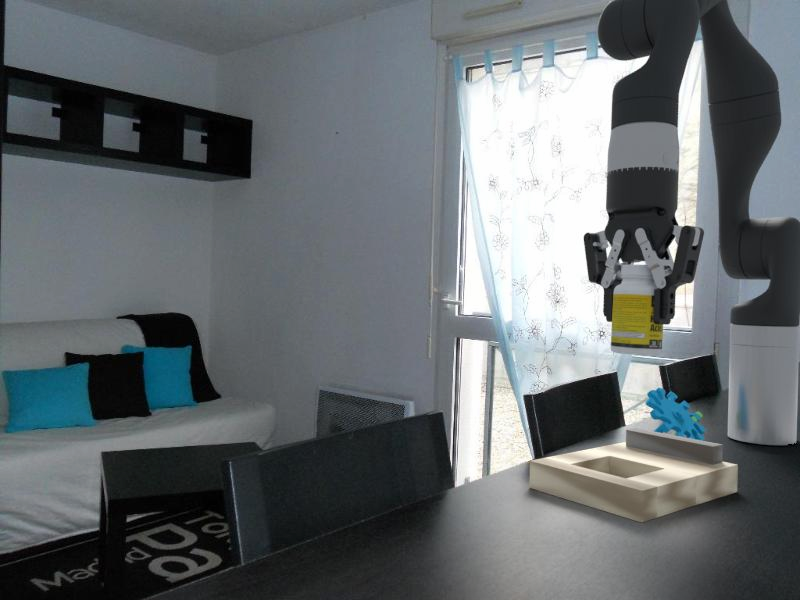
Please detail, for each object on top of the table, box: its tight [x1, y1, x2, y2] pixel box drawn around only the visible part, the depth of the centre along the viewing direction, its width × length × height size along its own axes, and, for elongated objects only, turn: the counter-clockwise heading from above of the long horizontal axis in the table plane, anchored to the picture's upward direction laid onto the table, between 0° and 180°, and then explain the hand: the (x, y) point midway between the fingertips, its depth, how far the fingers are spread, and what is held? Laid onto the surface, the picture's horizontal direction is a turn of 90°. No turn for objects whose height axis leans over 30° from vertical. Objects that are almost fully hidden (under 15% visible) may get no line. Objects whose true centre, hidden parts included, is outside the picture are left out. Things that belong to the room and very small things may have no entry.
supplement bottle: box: [610, 264, 664, 356], centre depth 78 cm, size 5×5×10 cm
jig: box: [528, 427, 739, 523], centre depth 77 cm, size 18×14×5 cm
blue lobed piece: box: [645, 387, 706, 441], centre depth 105 cm, size 11×6×10 cm
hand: (637, 322), depth 78 cm, fingers closed on supplement bottle, 5 cm apart
